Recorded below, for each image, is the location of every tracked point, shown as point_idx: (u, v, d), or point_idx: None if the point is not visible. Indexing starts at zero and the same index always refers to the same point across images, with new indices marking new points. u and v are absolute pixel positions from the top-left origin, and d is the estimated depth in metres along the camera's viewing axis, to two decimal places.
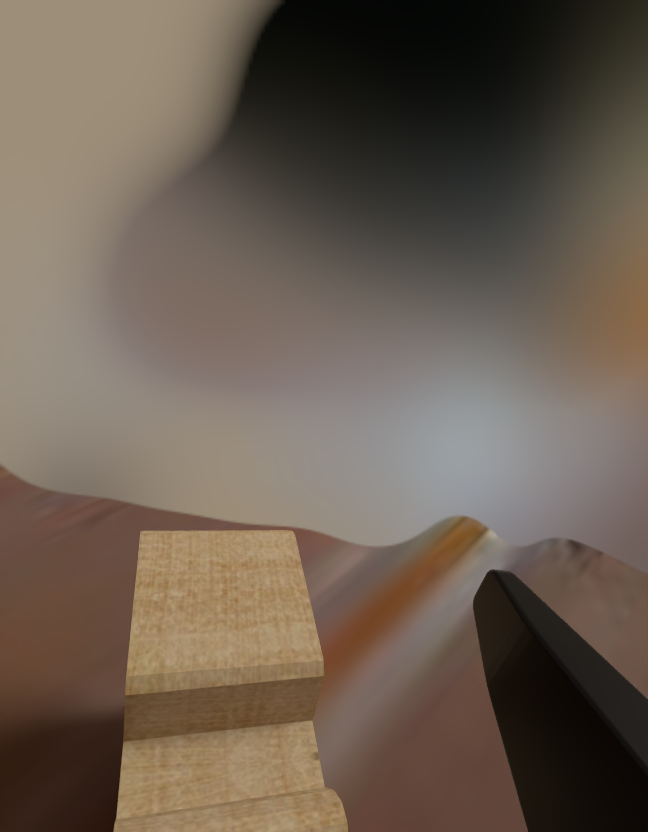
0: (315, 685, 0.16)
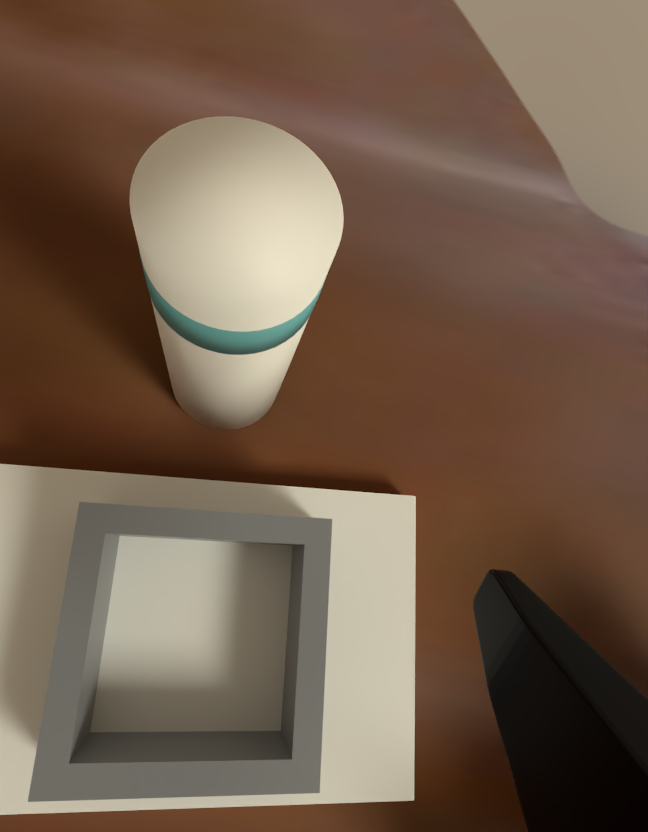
0: None
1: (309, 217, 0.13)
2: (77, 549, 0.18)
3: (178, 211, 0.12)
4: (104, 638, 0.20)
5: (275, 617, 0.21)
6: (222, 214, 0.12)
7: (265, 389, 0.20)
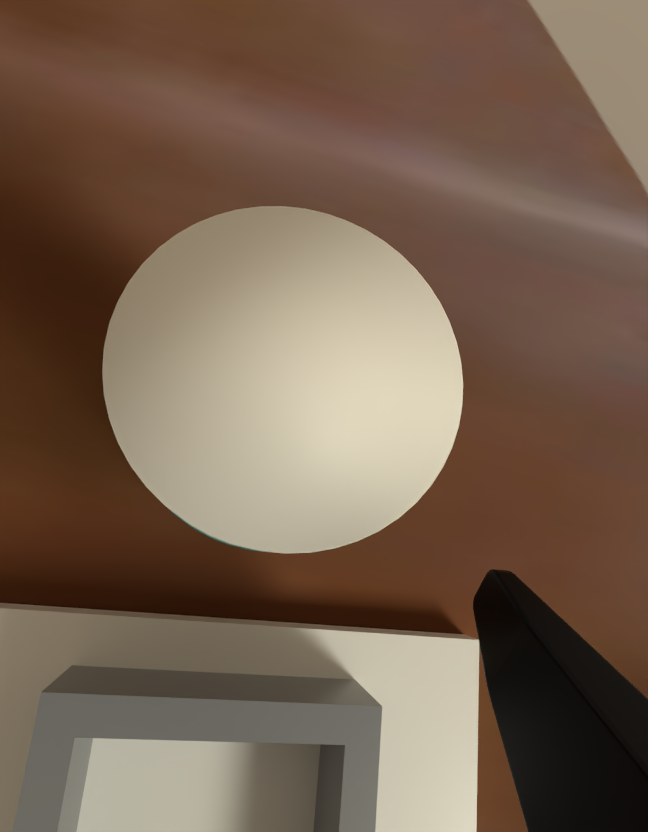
0: None
1: (408, 385, 0.08)
2: (34, 764, 0.13)
3: (187, 383, 0.07)
4: None
5: (299, 812, 0.16)
6: (263, 386, 0.07)
7: None
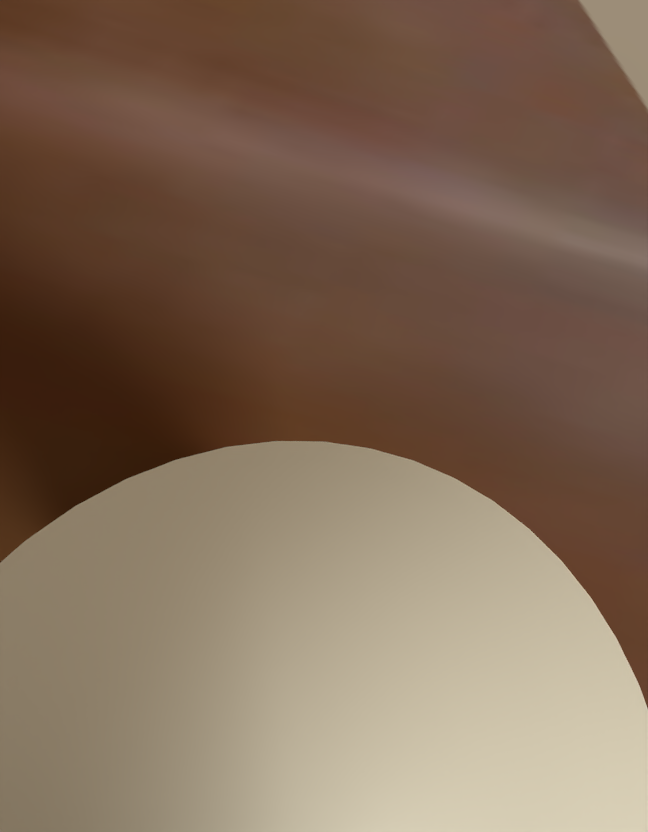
0: None
1: None
2: None
3: None
4: None
5: None
6: None
7: None
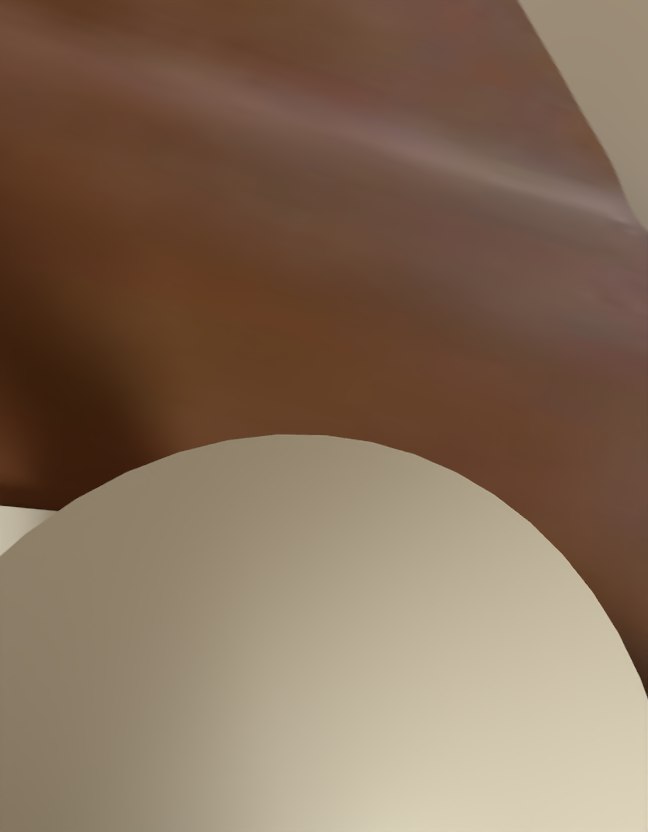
0: None
1: None
2: None
3: None
4: None
5: None
6: None
7: None
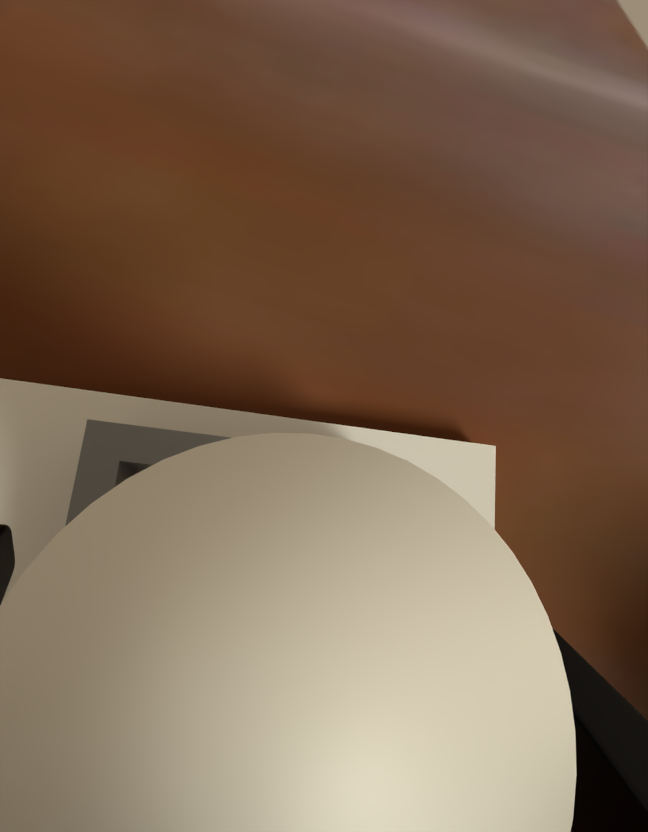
0: None
1: (487, 749, 0.04)
2: (83, 479, 0.14)
3: (100, 808, 0.04)
4: None
5: None
6: (239, 791, 0.04)
7: None
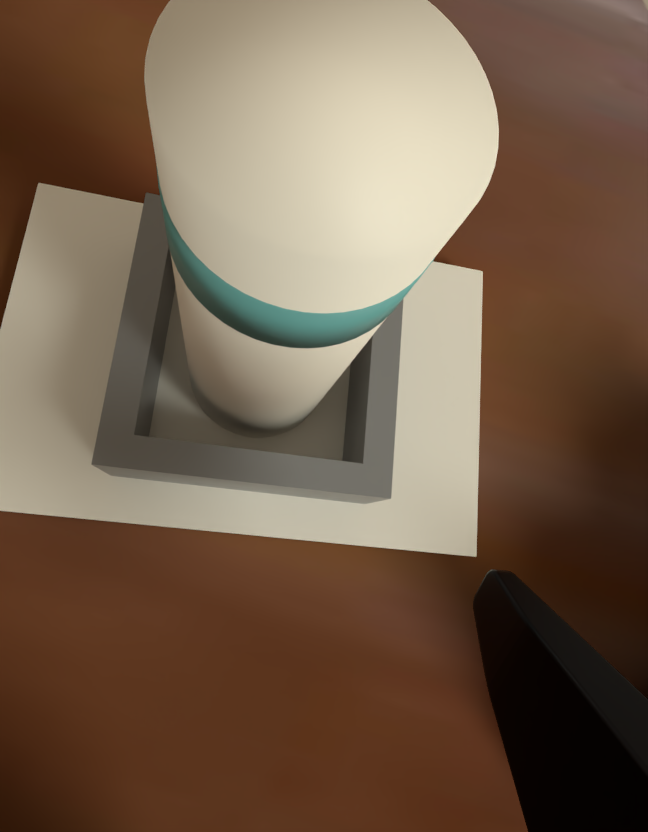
0: None
1: (444, 124, 0.08)
2: (143, 236, 0.17)
3: (228, 98, 0.07)
4: (162, 363, 0.19)
5: None
6: (302, 109, 0.07)
7: (318, 393, 0.15)
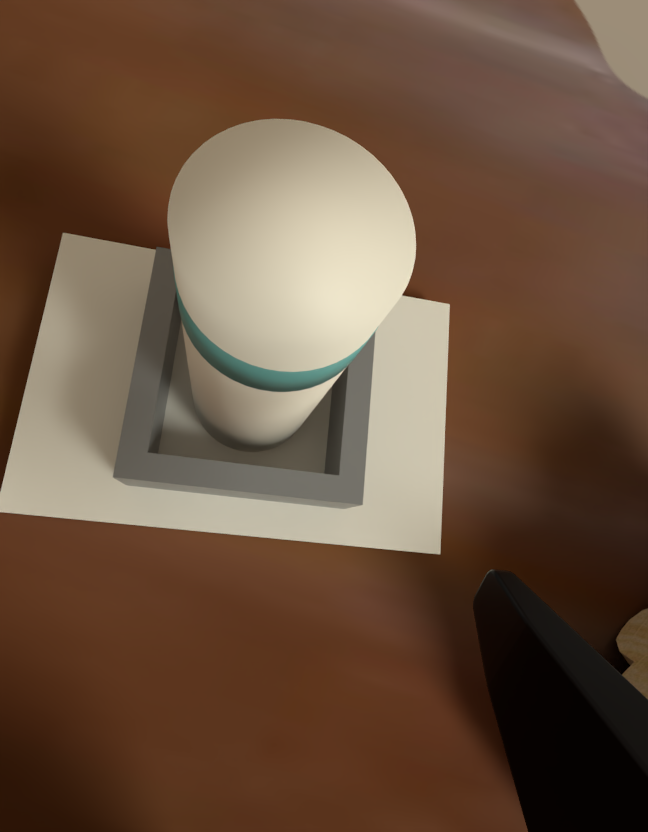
0: None
1: (376, 243, 0.11)
2: (154, 284, 0.20)
3: (224, 233, 0.10)
4: (169, 389, 0.22)
5: None
6: (275, 237, 0.10)
7: (299, 418, 0.18)
